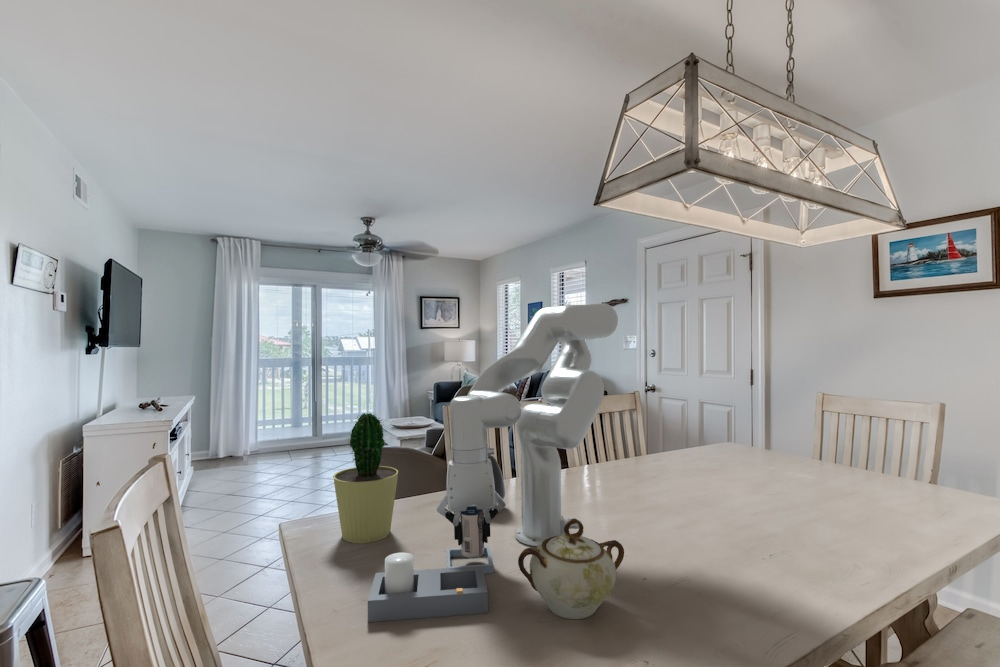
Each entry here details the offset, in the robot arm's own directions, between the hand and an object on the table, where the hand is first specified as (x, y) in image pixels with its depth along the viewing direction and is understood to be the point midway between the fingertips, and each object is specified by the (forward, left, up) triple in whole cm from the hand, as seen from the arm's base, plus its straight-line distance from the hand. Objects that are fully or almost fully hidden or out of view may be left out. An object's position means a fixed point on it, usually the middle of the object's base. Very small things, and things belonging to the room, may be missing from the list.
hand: (472, 540), depth 102 cm
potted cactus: (+25, -20, -5) cm, 32 cm away
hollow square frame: (+1, +1, -5) cm, 5 cm away
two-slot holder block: (+9, +14, -5) cm, 18 cm away
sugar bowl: (-16, +19, -5) cm, 26 cm away
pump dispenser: (-6, -34, -5) cm, 34 cm away
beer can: (0, 0, -3) cm, 3 cm away
